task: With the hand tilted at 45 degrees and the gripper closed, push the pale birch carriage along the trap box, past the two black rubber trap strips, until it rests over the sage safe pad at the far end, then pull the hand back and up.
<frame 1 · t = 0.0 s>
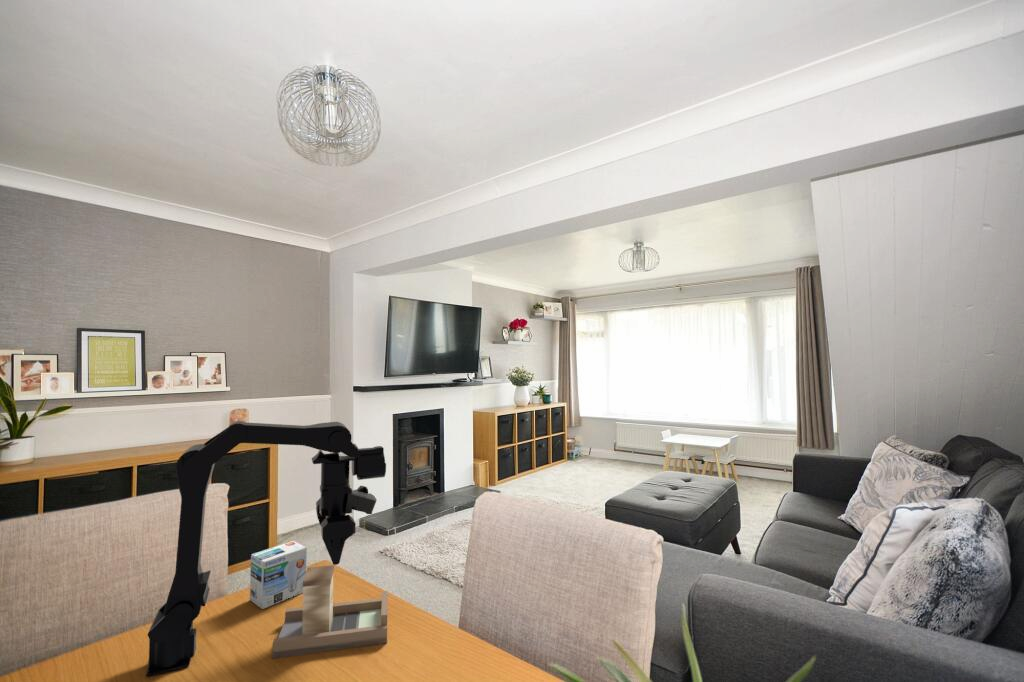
hand: (333, 555, 101), 15 cm above the table, tool pointing down, fingers open, 9 cm apart
trap box: (334, 632, 98), on the table
light bulb box: (278, 596, 112), on the table
birch carriage: (318, 600, 97), point 7 cm above the table, slide at 0.0 cm
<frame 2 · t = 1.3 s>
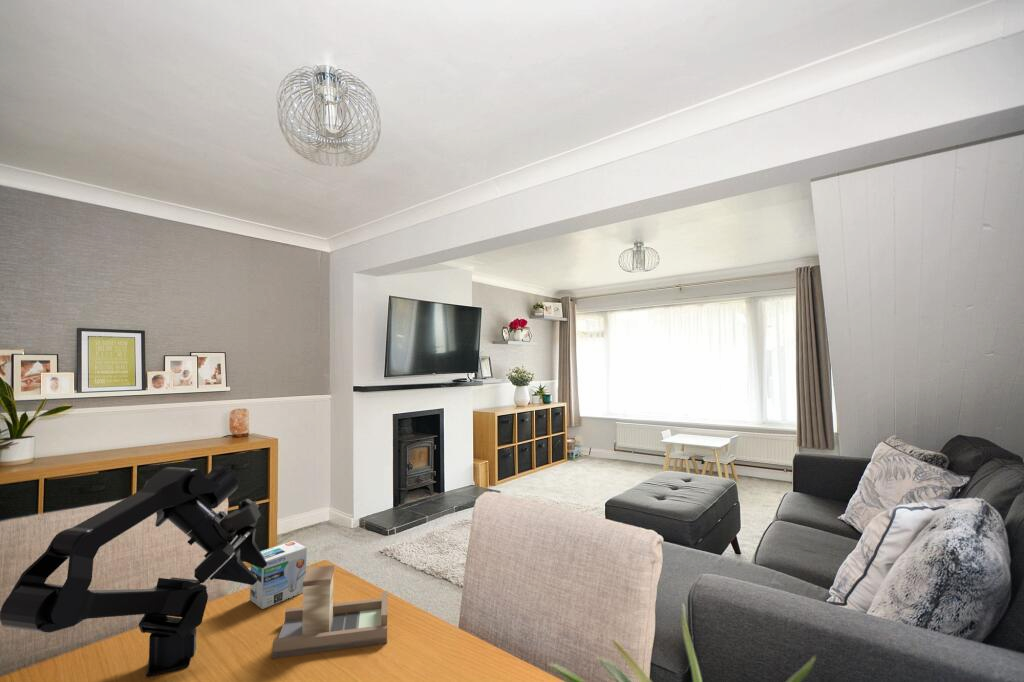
hand: (260, 574, 95), 14 cm above the table, tool tilted 45°, fingers open, 7 cm apart
nothing on the table moved.
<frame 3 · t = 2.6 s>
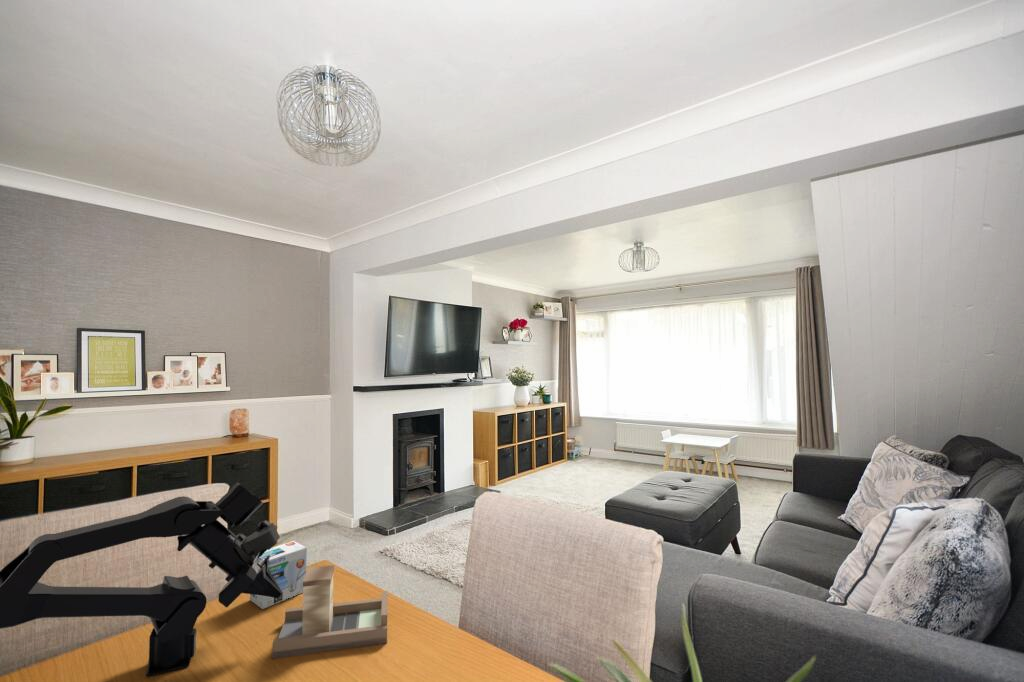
hand: (280, 595, 96), 9 cm above the table, tool tilted 45°, fingers closed
nothing on the table moved.
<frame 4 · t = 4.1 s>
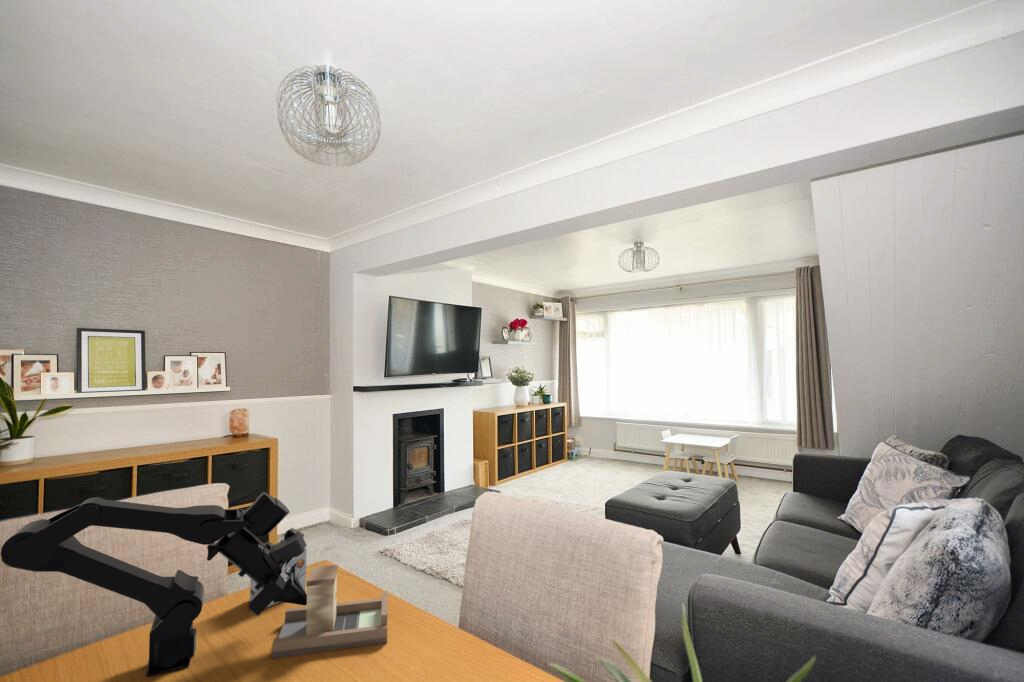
hand: (307, 602, 97), 7 cm above the table, tool tilted 45°, fingers closed, pressing on birch carriage
birch carriage: (322, 599, 98), point 7 cm above the table, slide at 0.7 cm, touching gripper
everything else where it was.
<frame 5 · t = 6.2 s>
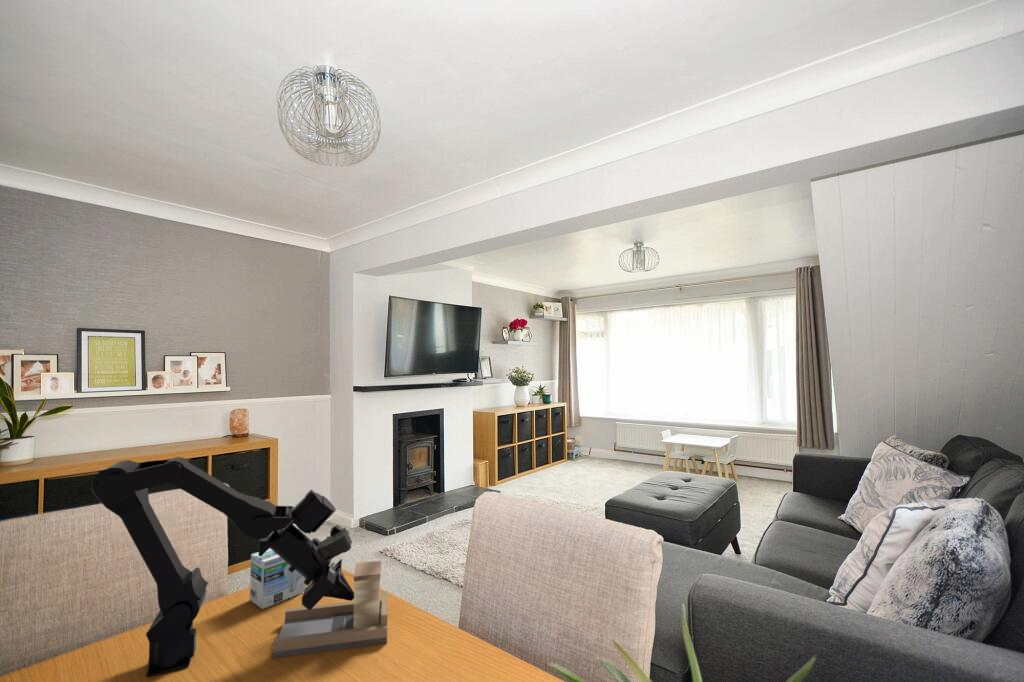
hand: (353, 598, 99), 7 cm above the table, tool tilted 45°, fingers closed, pressing on birch carriage
birch carriage: (367, 594, 100), point 7 cm above the table, slide at 9.7 cm, touching gripper
everything else where it was.
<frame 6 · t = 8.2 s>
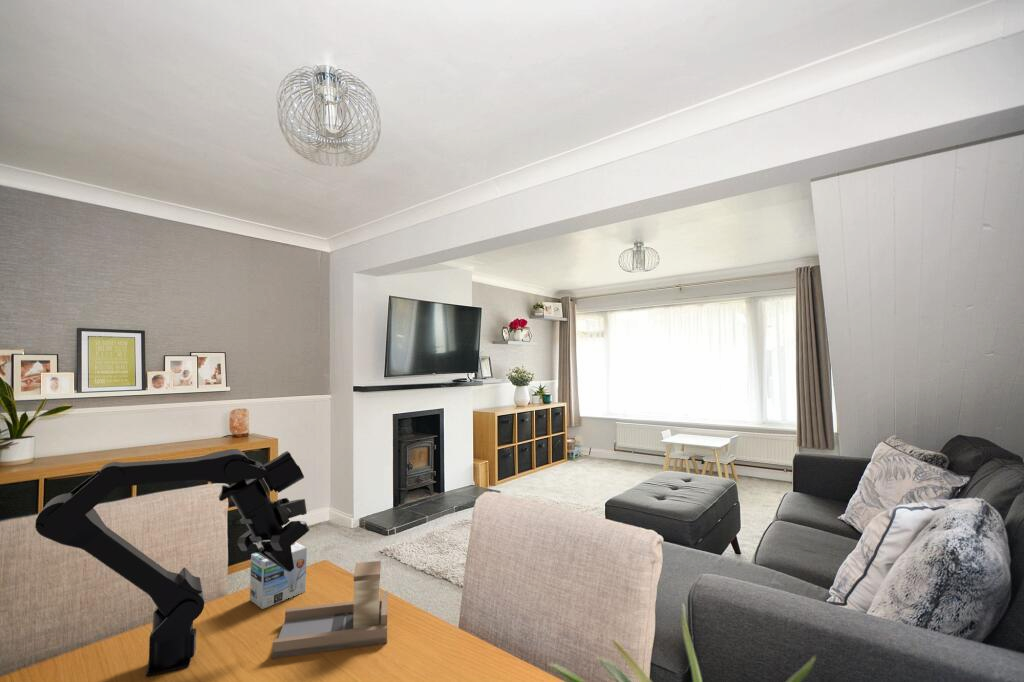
hand: (291, 570, 99), 13 cm above the table, tool tilted 25°, fingers closed
birch carriage: (367, 594, 100), point 7 cm above the table, slide at 9.6 cm
everything else where it was.
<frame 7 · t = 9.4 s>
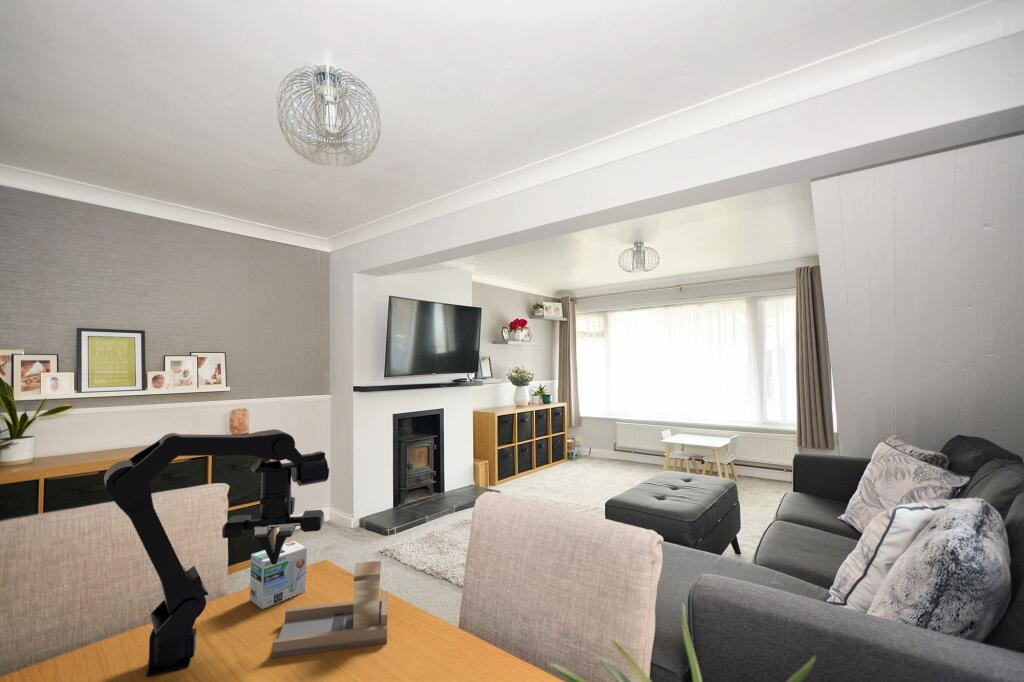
hand: (274, 563, 101), 13 cm above the table, tool pointing down, fingers closed
nothing on the table moved.
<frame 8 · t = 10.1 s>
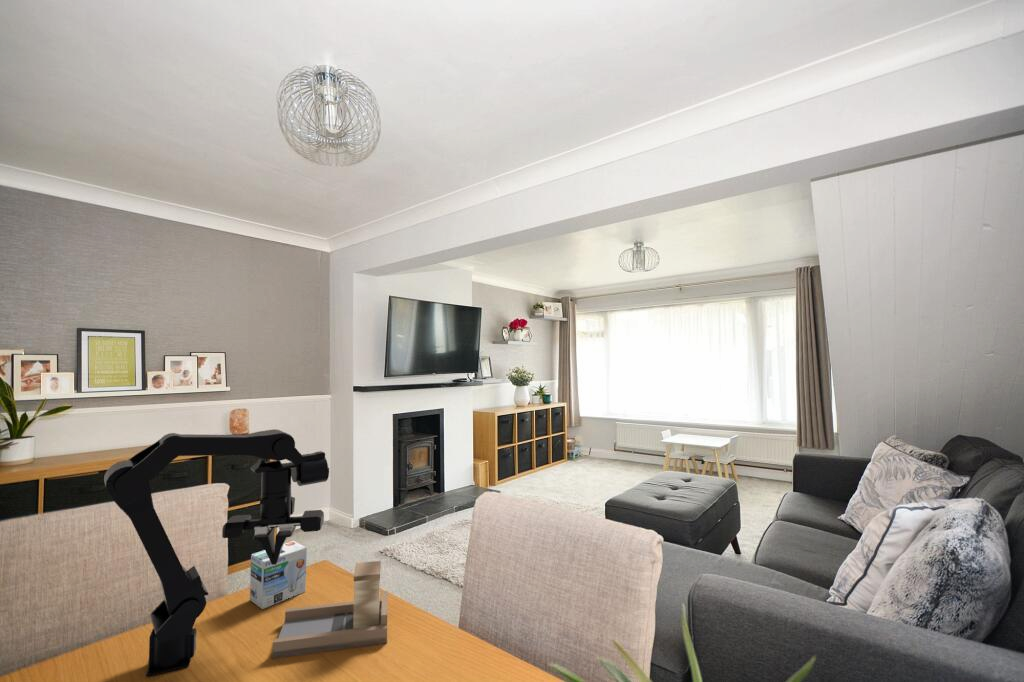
hand: (274, 563, 101), 13 cm above the table, tool pointing down, fingers closed
nothing on the table moved.
at the end: birch carriage slide at 9.6 cm; the gripper is holding nothing; light bulb box moved 0.3 cm from its start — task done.
